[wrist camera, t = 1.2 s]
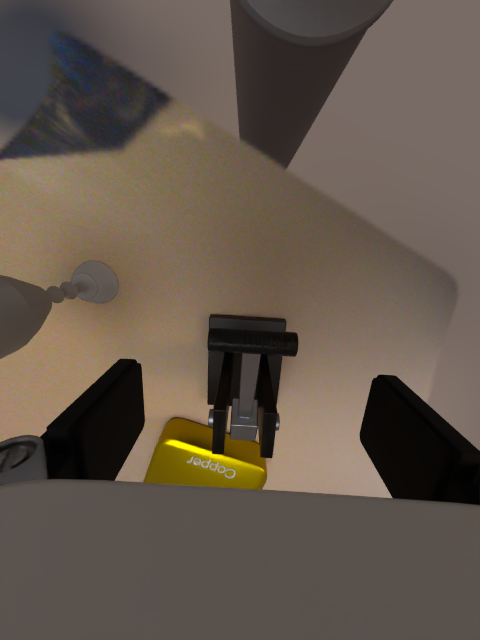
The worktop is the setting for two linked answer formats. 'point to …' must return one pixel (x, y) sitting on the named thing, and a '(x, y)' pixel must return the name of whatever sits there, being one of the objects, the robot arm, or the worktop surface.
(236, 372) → the bracket
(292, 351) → the lever
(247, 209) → the worktop surface
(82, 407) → the robot arm
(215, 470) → the element tile
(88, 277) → the chalice
